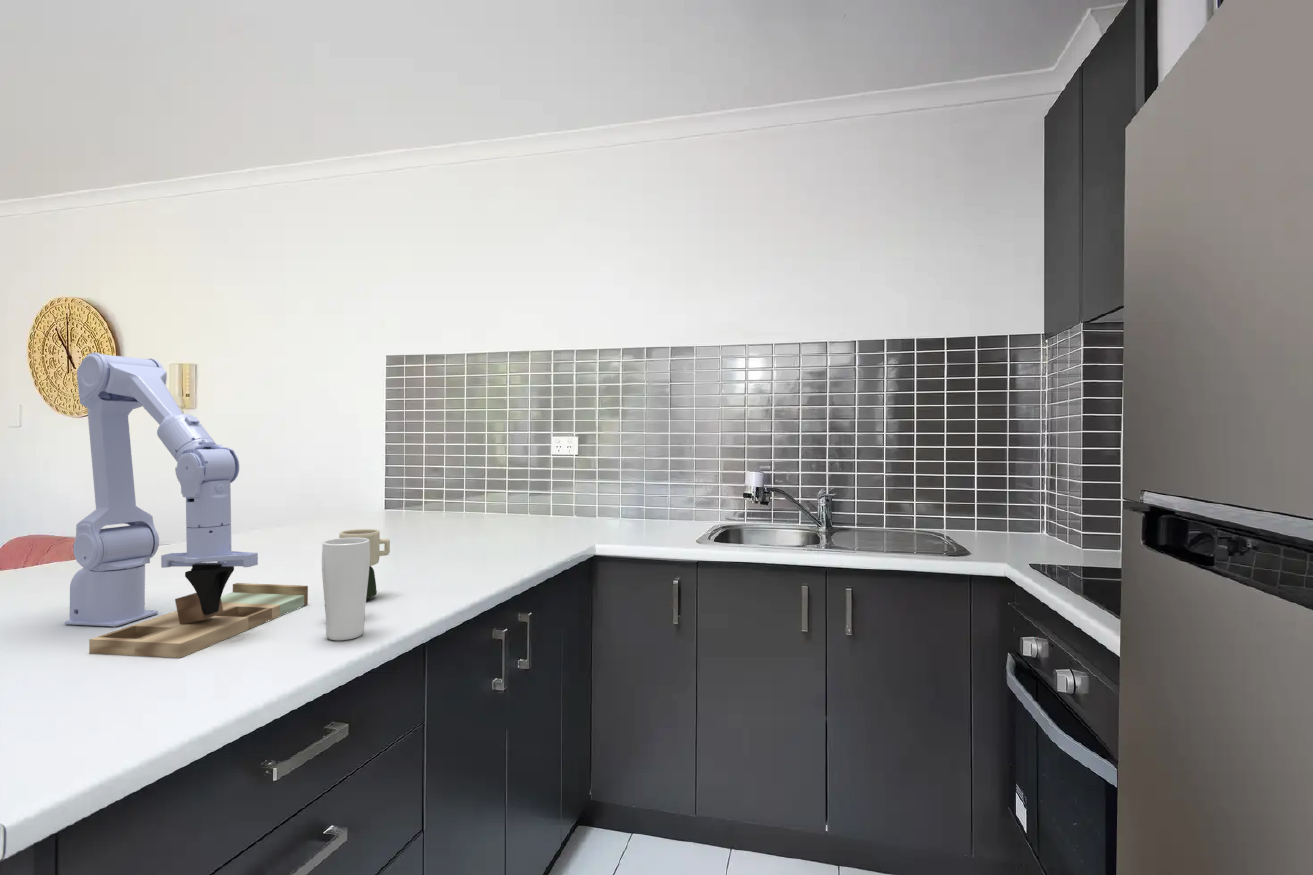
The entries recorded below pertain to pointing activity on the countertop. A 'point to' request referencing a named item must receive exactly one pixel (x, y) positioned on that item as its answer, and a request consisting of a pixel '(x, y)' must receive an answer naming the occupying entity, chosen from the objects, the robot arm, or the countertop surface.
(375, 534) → the character mug
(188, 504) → the robot arm
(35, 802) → the countertop surface
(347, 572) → the drinking glass
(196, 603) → the block
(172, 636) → the wooden board
